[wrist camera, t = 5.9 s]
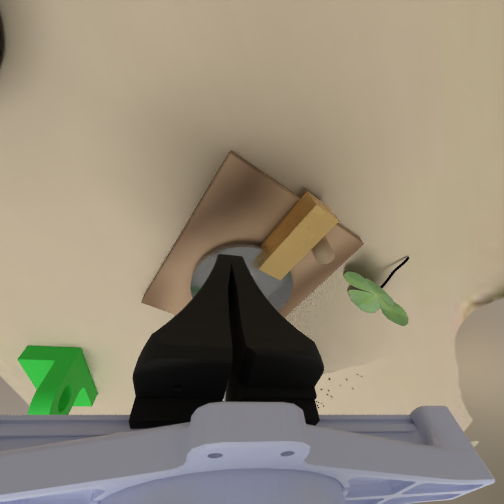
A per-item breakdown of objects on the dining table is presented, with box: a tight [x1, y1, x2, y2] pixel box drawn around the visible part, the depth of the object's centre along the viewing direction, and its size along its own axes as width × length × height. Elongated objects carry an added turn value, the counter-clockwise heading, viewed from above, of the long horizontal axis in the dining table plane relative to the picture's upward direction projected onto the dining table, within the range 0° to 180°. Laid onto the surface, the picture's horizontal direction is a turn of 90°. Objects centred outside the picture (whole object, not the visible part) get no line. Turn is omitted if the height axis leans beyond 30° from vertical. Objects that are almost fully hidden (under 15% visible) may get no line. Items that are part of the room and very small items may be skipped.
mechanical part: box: [18, 346, 98, 415], centre depth 31 cm, size 12×6×8 cm, turn 170°
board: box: [141, 150, 364, 317], centre depth 24 cm, size 15×18×4 cm
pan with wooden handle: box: [190, 191, 339, 311], centre depth 22 cm, size 16×10×3 cm, turn 144°
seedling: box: [344, 257, 409, 326], centre depth 26 cm, size 7×8×7 cm
